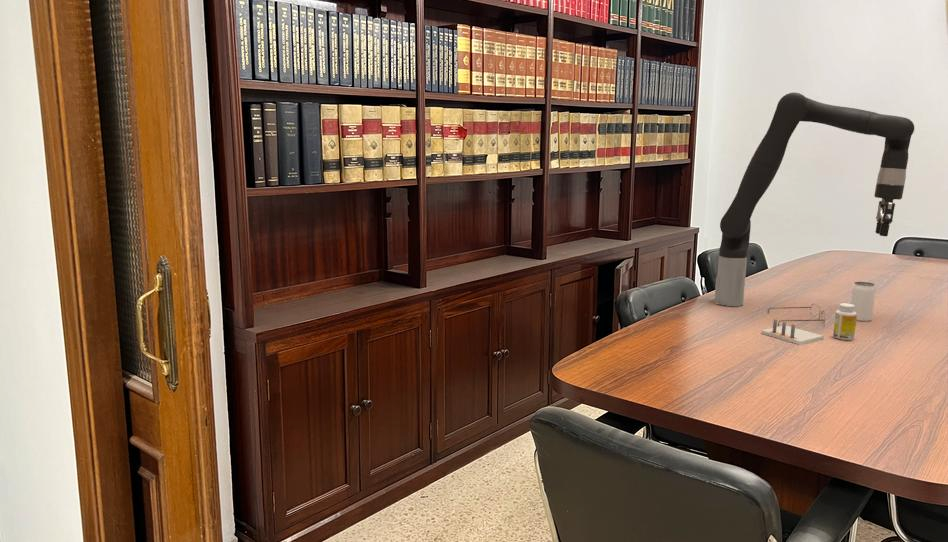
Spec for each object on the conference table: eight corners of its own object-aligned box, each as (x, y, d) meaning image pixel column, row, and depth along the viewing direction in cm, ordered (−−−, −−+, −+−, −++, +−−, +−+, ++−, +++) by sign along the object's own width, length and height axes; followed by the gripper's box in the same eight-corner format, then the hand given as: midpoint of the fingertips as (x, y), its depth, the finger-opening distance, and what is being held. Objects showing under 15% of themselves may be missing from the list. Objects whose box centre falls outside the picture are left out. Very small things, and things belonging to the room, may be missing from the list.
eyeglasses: (828, 330, 215) (830, 314, 214) (777, 327, 218) (778, 312, 217) (814, 316, 230) (815, 302, 229) (766, 314, 233) (768, 299, 232)
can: (874, 322, 221) (879, 286, 219) (852, 321, 223) (856, 285, 220) (867, 317, 228) (871, 281, 225) (846, 316, 229) (850, 280, 226)
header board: (761, 333, 209) (762, 317, 208) (784, 328, 215) (786, 312, 214) (800, 344, 198) (801, 328, 197) (823, 339, 204) (825, 322, 203)
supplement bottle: (858, 339, 204) (862, 305, 202) (845, 341, 201) (849, 308, 199) (841, 334, 209) (844, 301, 207) (828, 336, 206) (832, 303, 204)
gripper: (873, 182, 222) (864, 231, 225) (880, 182, 209) (870, 235, 212) (900, 184, 219) (891, 234, 222) (908, 184, 206) (898, 238, 209)
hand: (881, 234), depth 217 cm, fingers open, 8 cm apart
